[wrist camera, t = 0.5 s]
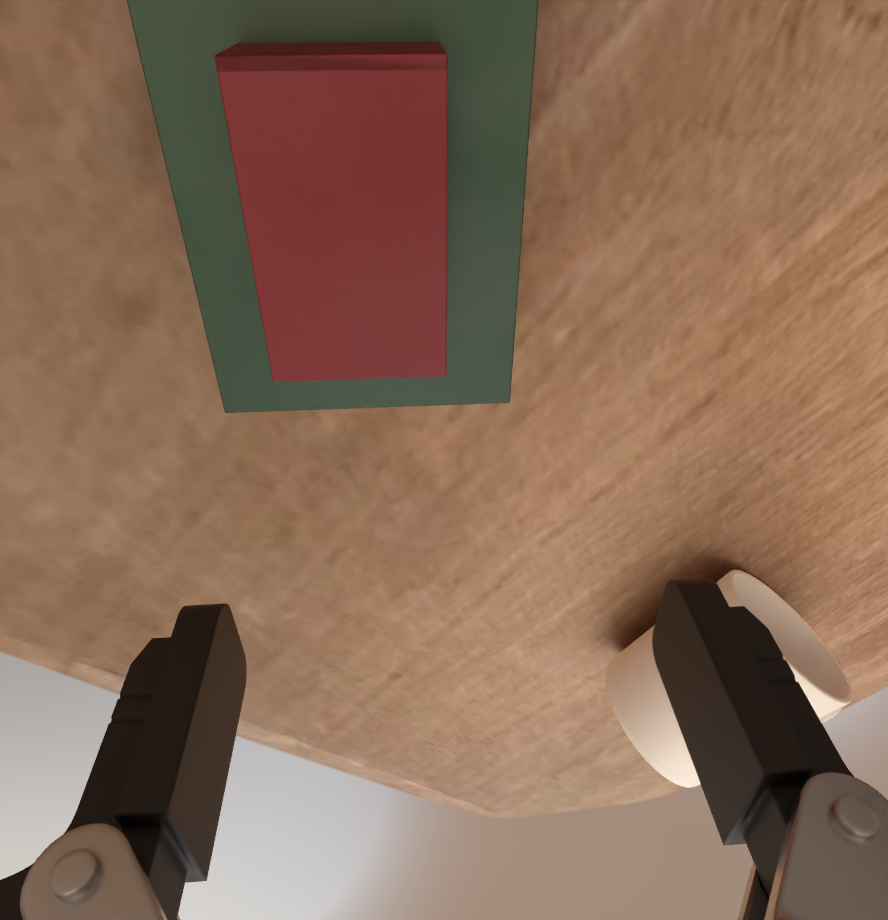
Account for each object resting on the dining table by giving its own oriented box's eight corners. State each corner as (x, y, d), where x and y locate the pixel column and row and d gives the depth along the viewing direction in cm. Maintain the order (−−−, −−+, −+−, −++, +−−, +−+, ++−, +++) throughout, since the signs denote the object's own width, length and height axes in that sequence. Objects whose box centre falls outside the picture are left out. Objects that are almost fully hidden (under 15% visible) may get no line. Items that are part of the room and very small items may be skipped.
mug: (581, 633, 39) (618, 762, 33) (705, 541, 35) (775, 667, 29) (703, 697, 45) (756, 819, 38) (824, 622, 40) (906, 745, 34)
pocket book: (237, 42, 18) (213, 54, 16) (440, 41, 18) (447, 53, 16) (284, 339, 23) (273, 382, 21) (440, 335, 24) (446, 376, 21)
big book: (138, -93, 18) (101, -102, 16) (526, -91, 19) (545, -99, 17) (239, 374, 28) (224, 413, 25) (499, 366, 28) (509, 403, 26)
